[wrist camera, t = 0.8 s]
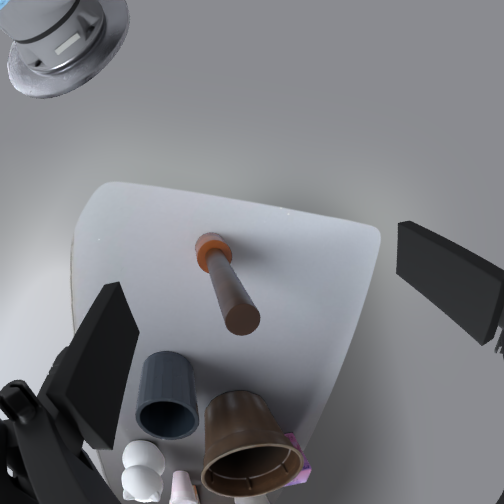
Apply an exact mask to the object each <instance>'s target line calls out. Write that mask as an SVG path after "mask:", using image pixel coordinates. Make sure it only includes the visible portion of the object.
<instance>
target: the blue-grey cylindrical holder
mask: <svg viewBox="0 0 504 504" xmlns="http://www.w3.org/2000/svg"><path fill="white" fill-rule="evenodd" d="M135 415H136V421H137V423H138V425H139V426H140V428H141V429H142V430H144V431H145V432H146V433H148V434H149V435H151V436H153V437H156V438H160V439H166V440H176V439H182V438H185V437H187V436H190V435H191V434H192V433H193V432H195V430H196V429H197V427H198V425H199V413H198V405H197V397H196V388H195V379H194V372H193V368H192V365H191V364H190V362H189V361H188V360H187V359H186V358H185V357H183V356H182V355H180V354H178V353H175V352H170V351H162V352H157V353H154V354H152V355H151V356H149V357H148V358H147V359H146V360H145V362H144V364H143V368H142V373H141V379H140V385H139V392H138V399H137V406H136V414H135Z"/></svg>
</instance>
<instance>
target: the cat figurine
mask: <svg viewBox="0 0 504 504" xmlns="http://www.w3.org/2000/svg"><path fill="white" fill-rule="evenodd" d="M122 459H123V464H124V467H125V468H126V469H125V470H124V472H123V474H122V486H123V488H124V491H123V498H124V499H125V500H133V499H135V500H137V501H141V502H149V501H154V502H159V500H160V494H161V493H162V490H163V481H162V479H161V477H160V475H161V474H162V473H163V471H164V468H165V458H164V456H163V454H162V453H161V451H160V450H159V449H158V448H157V446H156V445H154V444H153V443H151V442H149V441H143V440H137V441H132V442H130V443H129V444H128V445H127V446H126V448H125V450H124V453H123V457H122Z"/></svg>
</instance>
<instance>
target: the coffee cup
mask: <svg viewBox="0 0 504 504" xmlns="http://www.w3.org/2000/svg"><path fill="white" fill-rule="evenodd" d="M234 499H235V504H270V502H269V500H268V498H267V496H266V494H263V495H259V496H254V497H244V498H236V497H234Z"/></svg>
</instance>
